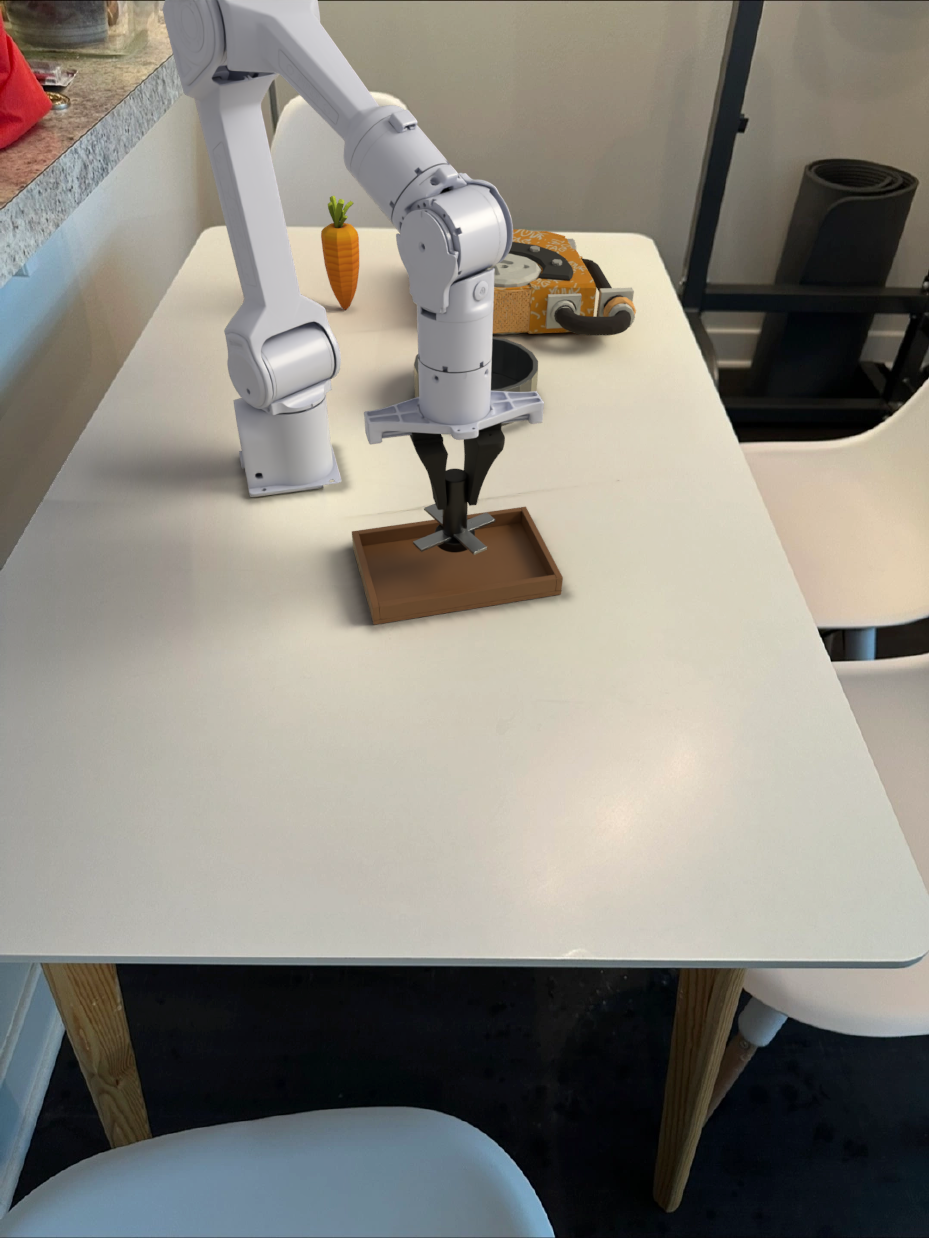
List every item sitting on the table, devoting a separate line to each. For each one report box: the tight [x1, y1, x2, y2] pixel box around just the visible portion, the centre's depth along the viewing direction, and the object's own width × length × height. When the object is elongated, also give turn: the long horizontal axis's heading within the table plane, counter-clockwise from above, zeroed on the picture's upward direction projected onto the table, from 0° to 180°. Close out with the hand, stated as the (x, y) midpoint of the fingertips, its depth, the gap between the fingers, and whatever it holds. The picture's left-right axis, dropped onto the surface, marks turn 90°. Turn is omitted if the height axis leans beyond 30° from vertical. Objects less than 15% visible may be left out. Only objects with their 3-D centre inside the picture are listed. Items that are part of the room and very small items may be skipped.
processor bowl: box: [413, 336, 539, 427], centre depth 107 cm, size 14×14×5 cm
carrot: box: [320, 195, 360, 311], centre depth 122 cm, size 5×5×15 cm
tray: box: [351, 506, 564, 625], centre depth 84 cm, size 17×11×2 cm, turn 104°
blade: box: [413, 468, 495, 555], centre depth 80 cm, size 8×8×7 cm
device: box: [488, 228, 637, 337], centre depth 124 cm, size 23×8×30 cm
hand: (454, 501), depth 80 cm, fingers closed on blade, 2 cm apart
